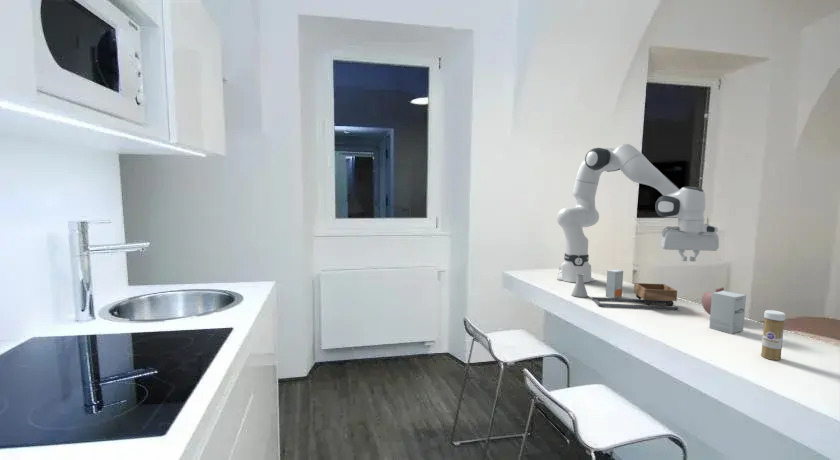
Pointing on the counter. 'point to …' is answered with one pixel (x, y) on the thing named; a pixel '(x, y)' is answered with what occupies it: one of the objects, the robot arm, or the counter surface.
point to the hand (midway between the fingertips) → (688, 261)
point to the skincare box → (614, 283)
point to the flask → (579, 287)
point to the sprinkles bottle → (773, 334)
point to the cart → (655, 293)
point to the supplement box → (727, 311)
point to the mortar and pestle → (708, 300)
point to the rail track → (597, 299)
